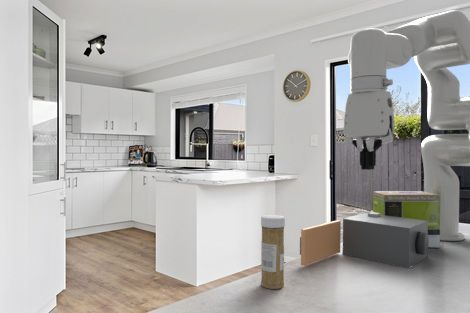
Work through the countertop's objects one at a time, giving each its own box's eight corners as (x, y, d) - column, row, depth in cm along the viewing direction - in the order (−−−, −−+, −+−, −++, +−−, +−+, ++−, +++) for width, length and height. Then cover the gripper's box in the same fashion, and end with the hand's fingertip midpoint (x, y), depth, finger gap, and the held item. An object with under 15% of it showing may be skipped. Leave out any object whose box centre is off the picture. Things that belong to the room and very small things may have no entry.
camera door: (340, 252, 92) (340, 220, 92) (304, 265, 81) (305, 229, 80) (333, 250, 93) (334, 219, 93) (297, 264, 82) (298, 228, 82)
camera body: (364, 244, 102) (365, 209, 101) (433, 257, 89) (433, 218, 89) (342, 254, 92) (343, 215, 92) (415, 269, 80) (416, 225, 80)
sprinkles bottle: (289, 286, 69) (289, 216, 69) (270, 291, 67) (271, 218, 67) (273, 279, 73) (274, 213, 73) (255, 284, 71) (256, 215, 70)
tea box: (423, 240, 108) (423, 190, 108) (440, 249, 98) (441, 194, 98) (371, 239, 109) (372, 189, 109) (384, 247, 99) (384, 193, 99)
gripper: (409, 85, 79) (408, 169, 79) (345, 92, 89) (344, 167, 89) (396, 80, 73) (395, 171, 74) (329, 89, 84) (329, 168, 84)
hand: (367, 169), depth 82 cm, fingers closed
